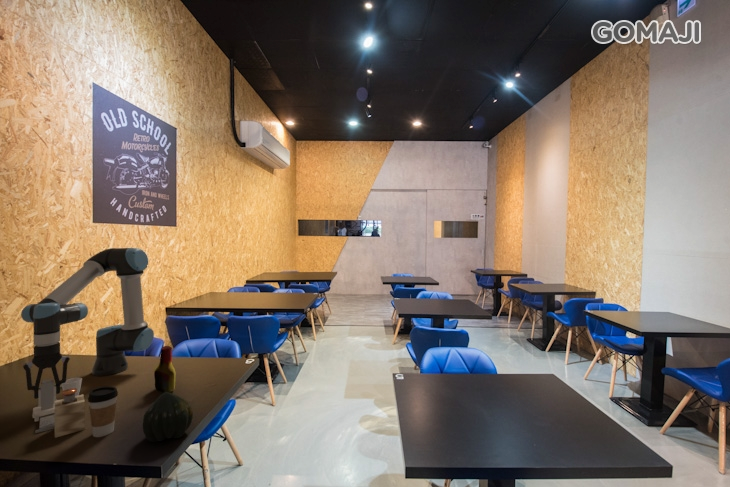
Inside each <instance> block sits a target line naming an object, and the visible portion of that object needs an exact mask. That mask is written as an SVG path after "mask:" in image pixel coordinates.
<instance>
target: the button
mask: <svg viewBox="0 0 730 487" xmlns="http://www.w3.org/2000/svg"><path fill="white" fill-rule="evenodd" d="M76 392H77V389H76V388H71V389H67V390H64V391H63V390H62V391H61V395H62V396H63V399H64V404H68V403H72V402H75V393H76Z"/></svg>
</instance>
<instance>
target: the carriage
mask: <svg viewBox="0 0 730 487" xmlns="http://www.w3.org/2000/svg"><path fill="white" fill-rule="evenodd" d="M53 385H54V378H53V379H48V380H43V381H42V380H41V381H40V388H41V407H39V408H38V406H35V407H33V409H32V419H34V423H35V422H40V416H44V415H48V414H52V413H55V404H54V390H53Z"/></svg>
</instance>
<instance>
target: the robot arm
mask: <svg viewBox="0 0 730 487" xmlns="http://www.w3.org/2000/svg"><path fill="white" fill-rule="evenodd" d="M148 265H149V258H148V254H147V253H146V252H145V251H144V250H143V249H141V248H136V247H122V248H117V247H116V248H115V247H113V248H112V247H111V248H106V249H103V250H101V251H99V252H97V253H96V254H94V255H92V256H90V257H89V258H88V259H87V260H85V262H84V263H83V264H82V267H81V268H79V269H78V270H77V271H75V273H73V274H72V275H70V276H69V277H68V278H67V279H66V280H65V281H63V282H62V283H61V284H60V285H59V286H57V287H56V288H55V289H54V290H52V291H51V292H50V293H49V294H47V295H46V296H45V297H44V298H43V299H42V300H40V301H39V302H38V303H32V304H28V305H26V306H24V307H23V308H22V310H21V312H20V316H21V319H22V320H23V321H24V322H25V323H32V324H33V358H32V359H31V361H29V362H25V363H24V364H23V366H22V367H23V370H24V371H25V378H26V387H27V391H33V399H34V400H36V399H38V405H37V407H38V408H39V407H41V387H40V385H41V381H42V380H41V379H42V375H43V371H44V370H45V369H51V372H52V375H53V381H54V383H55V384H53V390H54V404H55V401H57V400H56V399H57V395H58V394H60V392H61V387H60V385H61V384H62V383H65V382H66V380H67V374H68V363H69V361H70V356H69V355H67V356H64V355H62V354H61V343H60V341H61V326H62V325H67V324H72V323H75V322H76V323H77V322H79V321H81V320H83V319H85V318H87V316H88V314H89V308H88V306H87V304H85V303H82V302H74V303H70V301H71V300H73V299H74V298H75V297H76V296H78V295H79V294H80V292H81V291H83V290H84V289H85V288H86V287H87V286H88V285H89V284H92V282H93V281H94V280H95V279H96V278H98V277H102V276H104V274H106V273H108V272H115V275H116V277H117V278H119V279H120V289H121V290H120V291H121V300H122V301H121V302H122V313H123V315H122V316H123V324H117V325H116V324H115V325H109V326H105V327H102V328H99V329H98V330H97V331H96V336H95V348H96V349H95V350H96V351H95V352H96V357H95V358H96V359H95V361H94V363H93V367H92V370H91V371H92V372H91V374H92V375H93V376H96V377H98V376H99V377H100V376H101V377H102V376H104V377H105V376H110V375H115V374H119V373H121V372H124V371H126V370H127V369H128V368H129V363H128V360H127V358H126V355H125V352H136V353H137V352H143V351H145V350H147V349H149V347H151V345H152V343H153V341H154V337H155V333H154V332H155V331H154V329H152V328H151V327H148V326H149V325H148V322H147V321H146V320H145V318H144V316H145V315H144V305H143V295H142V294H143V290H142V278H141V276H143V275H144V271H145V270H146V269H147V268H148ZM59 361H61V362H62V372H61V374H62V375H61V379H60V378H59V374H58V369H57V364H58V363H59ZM33 365H34V366H35V367H37V368H38V369H37V373H36V374H37V375H36V380H35V384H34V385H33V380H32V369H31V368H32V367H33Z"/></svg>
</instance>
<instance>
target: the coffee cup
mask: <svg viewBox="0 0 730 487" xmlns="http://www.w3.org/2000/svg"><path fill="white" fill-rule="evenodd" d="M118 395H119V392H118V389H117V387H116V386H115V387H114V386H100V387H96V388H93V389H91V390H90V391H89V393H88V397H87V401H88V402H87V403H89V408H88V409H89V416H90V421H91V422H90V423H91V424H90V425H91V432H92V437H93V438H102V437H106V436H107V435H111V433H113V432H114V430H115V420H116V412H117V404H118V403H117V397H118Z"/></svg>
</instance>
